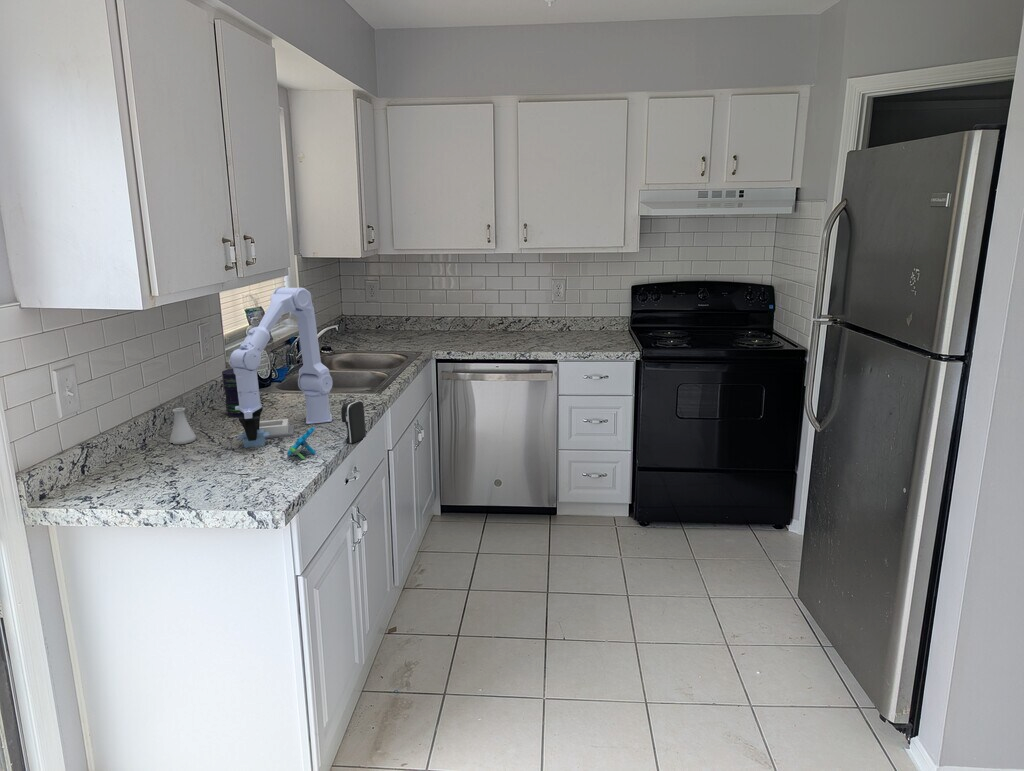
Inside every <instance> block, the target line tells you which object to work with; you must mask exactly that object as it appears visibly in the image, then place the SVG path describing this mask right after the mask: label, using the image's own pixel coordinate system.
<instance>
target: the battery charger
mask: <svg viewBox="0 0 1024 771" xmlns="http://www.w3.org/2000/svg"><path fill="white" fill-rule="evenodd" d="M340 413H341V422H342V423H344V424H345V426H346V430H347V431H346V432H347V433H346V434H347V437H346V439H345V442H346V443H349V444H354V443H357V442H360V441H361V440H363V439H364V438H366V437H367V434H366V420H365V408H364V403H363V402H362V401H361V400H352V401H349V402H346V403H345V404H343V405H342V406H341V409H340Z"/></svg>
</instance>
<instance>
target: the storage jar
mask: <svg viewBox="0 0 1024 771" xmlns="http://www.w3.org/2000/svg"><path fill="white" fill-rule="evenodd" d="M221 376H222V385H223V389H224V392H225V400H224V401H225V408H226V412H227V415H226V416H227V418H231V419H233V418H234V419H239V417H244V414H243V412H241V411H240V410H235V407H236V406H239V399H238V391H237V383H236V375H235V373H234V370H233V368H229V369H224V370H222V371H221Z"/></svg>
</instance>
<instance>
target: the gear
mask: <svg viewBox="0 0 1024 771" xmlns="http://www.w3.org/2000/svg"><path fill="white" fill-rule="evenodd" d="M315 429H316V428H315V427H314V426H312V427H311V428H309V429H308V430H307V431H306V433H303V435H301V437H298V438H297V439H296V441H295V444H294V445H292V446H291V447H290V448H289V450H288V451H287V452H286V455H287V456H288V457H290V456H291V455H292V454H293V455H295V456H298V457H300V459H302V460H303V459H304V460H305V459H306V456H304V455H303V454H302V453H301V451H302V450H303V449H304V448H305V450H307V451H309V452H310V453H311V454H312V455H314V454H316V451H315V450H314V449H313V447H311V446H310V445H309V443H308V442H307V439H308V438H310V436H311V435H312V434H313V433H314V432H315Z"/></svg>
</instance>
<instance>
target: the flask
mask: <svg viewBox="0 0 1024 771" xmlns="http://www.w3.org/2000/svg"><path fill="white" fill-rule="evenodd" d="M185 410H186V408H185V407H177V408H173V409H172V411H171V412H172V413H173V415H174V416H173V417H174V418H173V420H174V421H173V425H172V430H171V434H170V437H169V442H170V443H169V442H168V443H169V444H171V443H173V444H172V445H186V444H189V443H192V442H195V441H196V440H197V439H198V437H197V436H196V434H195V432H194V431H193V429H192V427H191V426H190V423H189V422H188V420H187V416H186V412H185Z"/></svg>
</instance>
